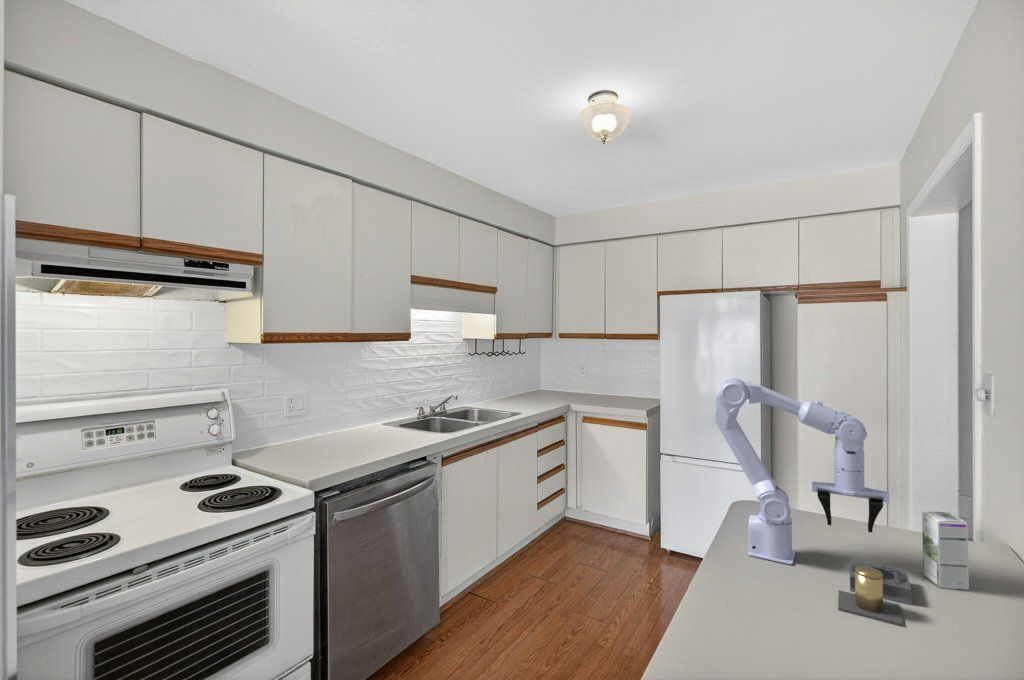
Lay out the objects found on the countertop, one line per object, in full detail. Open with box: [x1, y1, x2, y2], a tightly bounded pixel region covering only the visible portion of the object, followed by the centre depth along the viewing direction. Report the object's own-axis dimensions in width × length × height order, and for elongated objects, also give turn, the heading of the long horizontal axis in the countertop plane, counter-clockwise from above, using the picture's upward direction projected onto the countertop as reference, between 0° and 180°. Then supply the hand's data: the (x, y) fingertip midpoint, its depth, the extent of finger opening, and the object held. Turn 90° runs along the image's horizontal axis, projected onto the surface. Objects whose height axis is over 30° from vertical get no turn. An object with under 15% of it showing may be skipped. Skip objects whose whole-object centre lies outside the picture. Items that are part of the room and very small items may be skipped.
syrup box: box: [921, 511, 970, 591], centre depth 105 cm, size 6×6×14 cm
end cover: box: [854, 566, 884, 613], centre depth 96 cm, size 4×4×7 cm
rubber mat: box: [837, 590, 904, 627], centre depth 96 cm, size 10×8×1 cm
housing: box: [849, 557, 912, 605], centre depth 104 cm, size 10×10×3 cm
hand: (849, 527), depth 112 cm, fingers open, 7 cm apart
